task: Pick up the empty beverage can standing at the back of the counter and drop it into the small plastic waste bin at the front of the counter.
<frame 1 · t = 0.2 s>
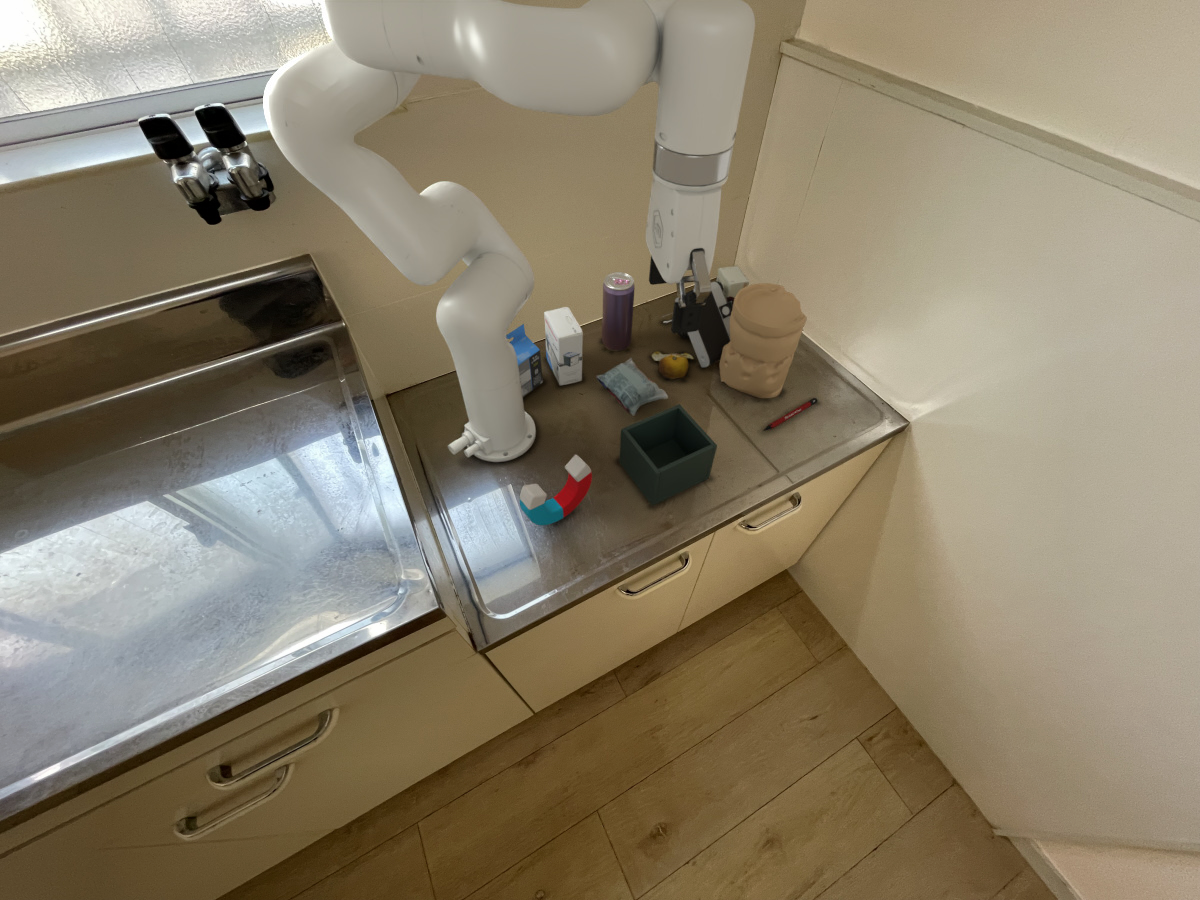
hand: (672, 305, 68), 35 cm above the countertop, tool pointing down, fingers open, 9 cm apart
beverage can: (616, 344, 117), on the countertop
toy: (769, 305, 116), point 6 cm above the countertop, touching camera, cosmetic box
cosmetic box: (723, 325, 121), on the countertop, touching toy
magnet: (558, 513, 91), on the countertop
ink box: (564, 370, 112), on the countertop
packaged food: (631, 394, 108), on the countertop
fruit: (674, 366, 113), on the countertop
camera: (684, 334, 112), point 4 cm above the countertop, touching toy
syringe: (676, 314, 123), on the countertop
waste bin: (663, 470, 96), on the countertop
container: (748, 382, 110), on the countertop
tape cartridge: (520, 391, 108), on the countertop
pencil: (788, 418, 104), on the countertop
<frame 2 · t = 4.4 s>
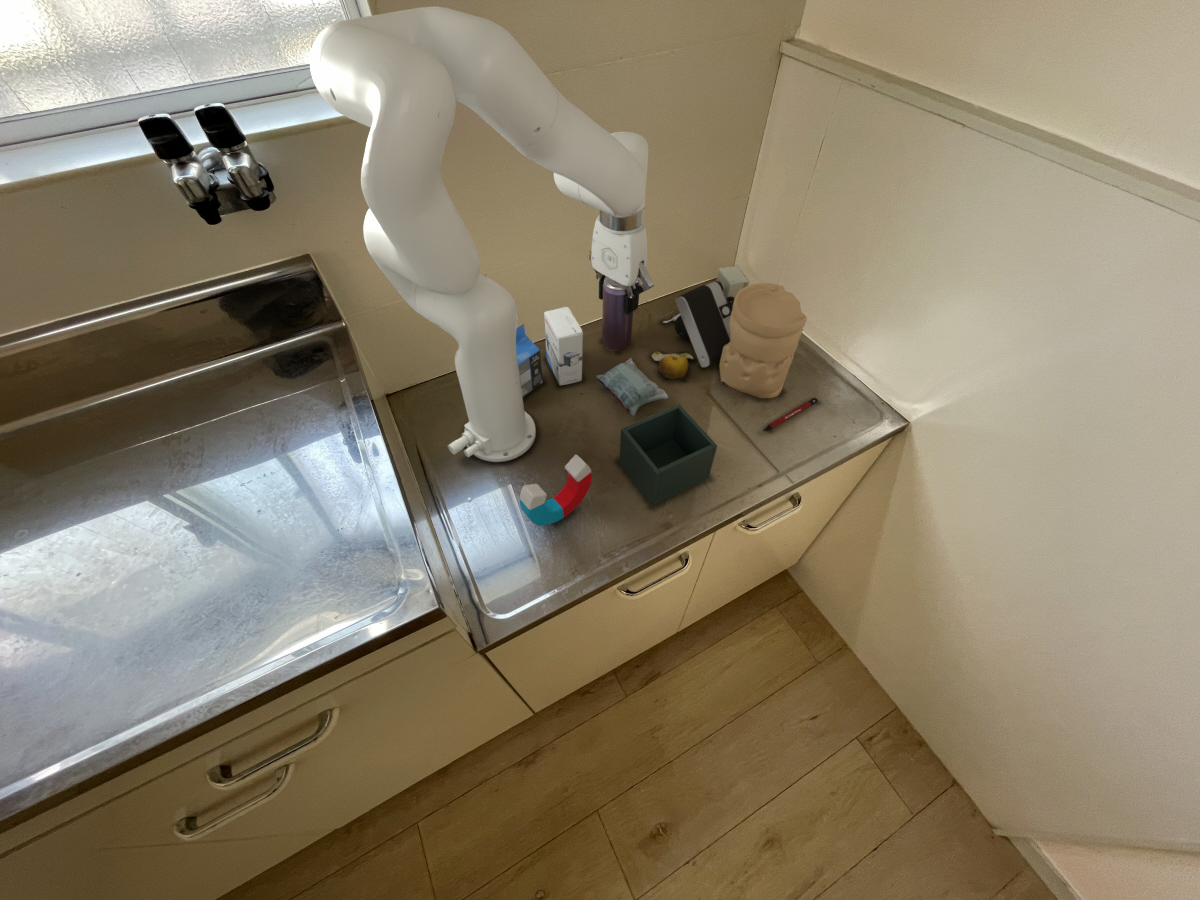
hand: (618, 302, 110), 10 cm above the countertop, tool pointing down, fingers closed on beverage can, 6 cm apart
beverage can: (616, 344, 117), on the countertop, touching gripper
everything else where it was.
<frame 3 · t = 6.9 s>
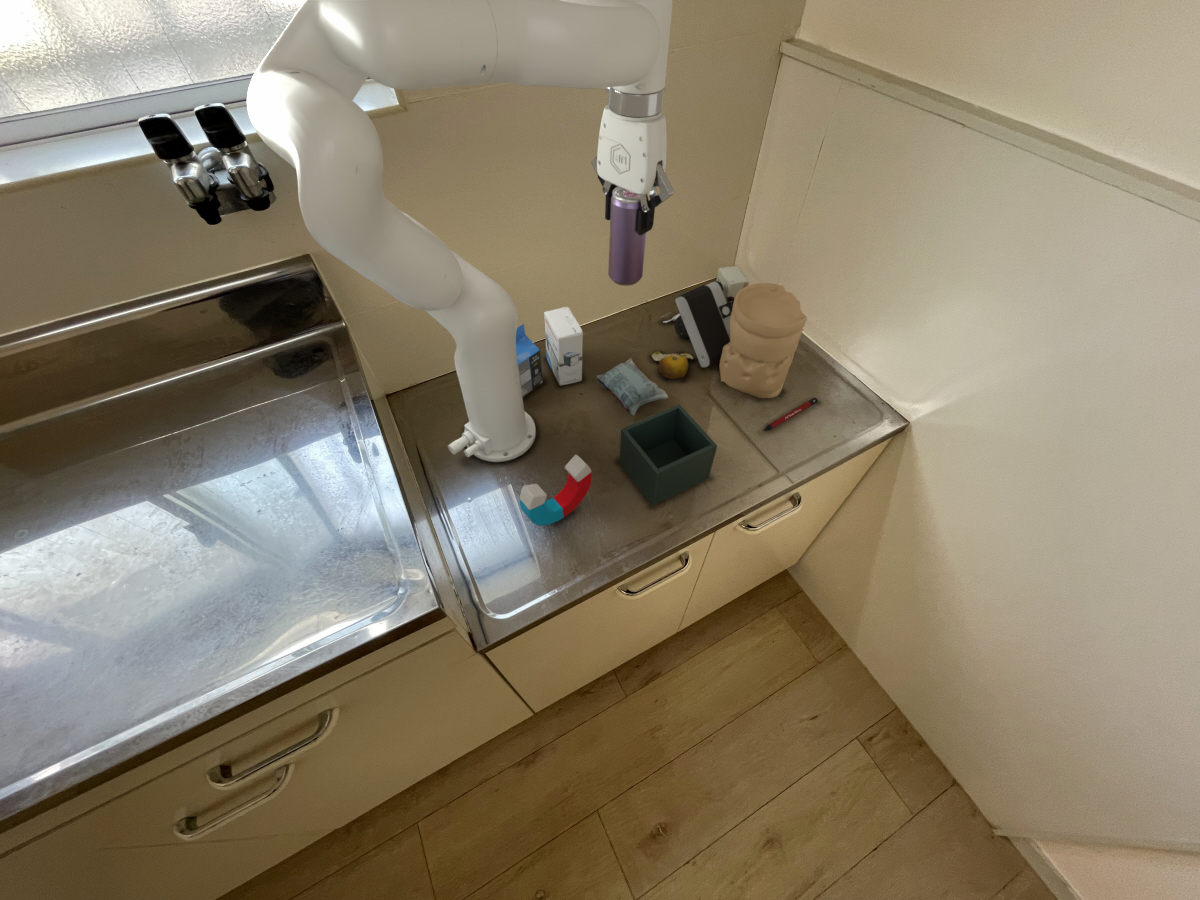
hand: (628, 223, 92), 29 cm above the countertop, tool pointing down, fingers closed on beverage can, 6 cm apart
beverage can: (625, 278, 99), point 19 cm above the countertop, touching gripper
everything else where it was.
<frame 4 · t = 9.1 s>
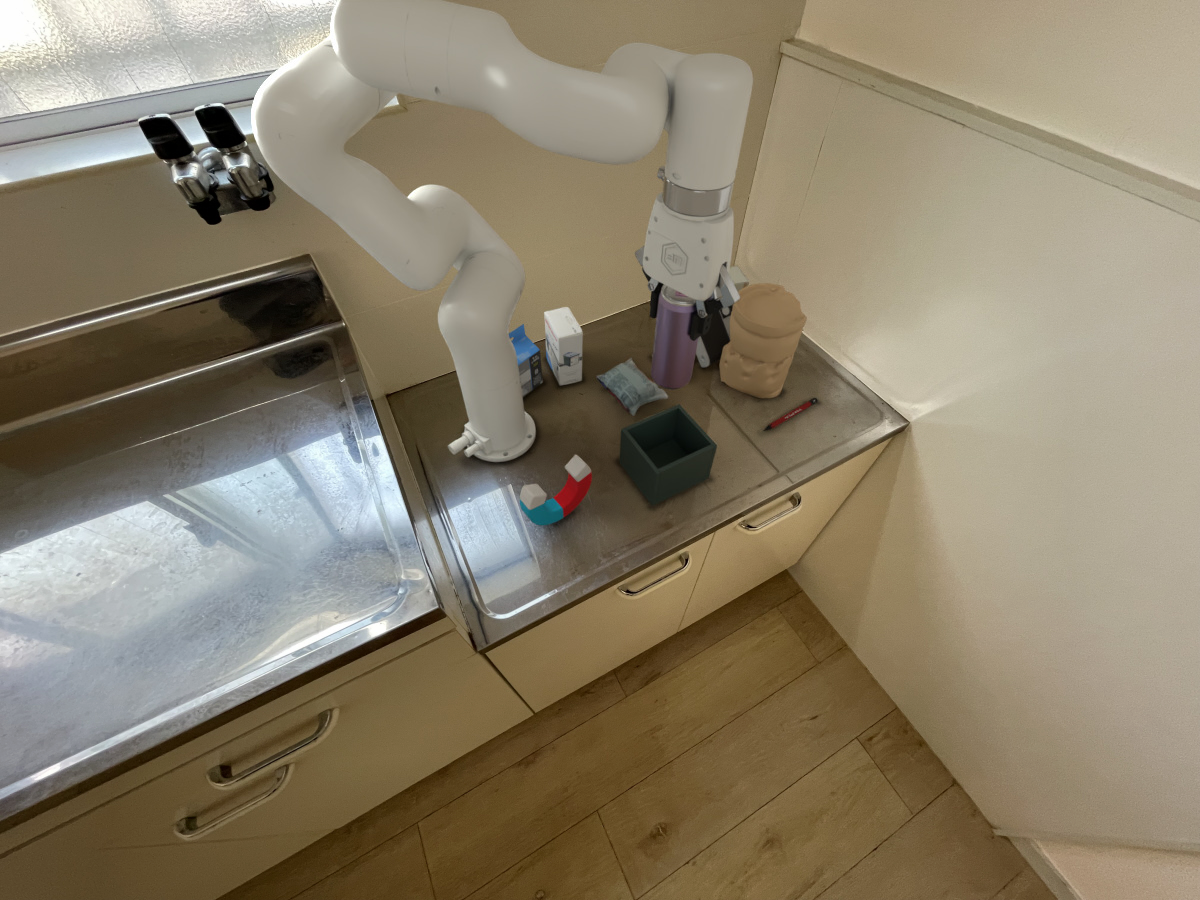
hand: (678, 323, 76), 29 cm above the countertop, tool pointing down, fingers closed on beverage can, 6 cm apart
beverage can: (670, 378, 84), point 19 cm above the countertop, touching gripper
everything else where it was.
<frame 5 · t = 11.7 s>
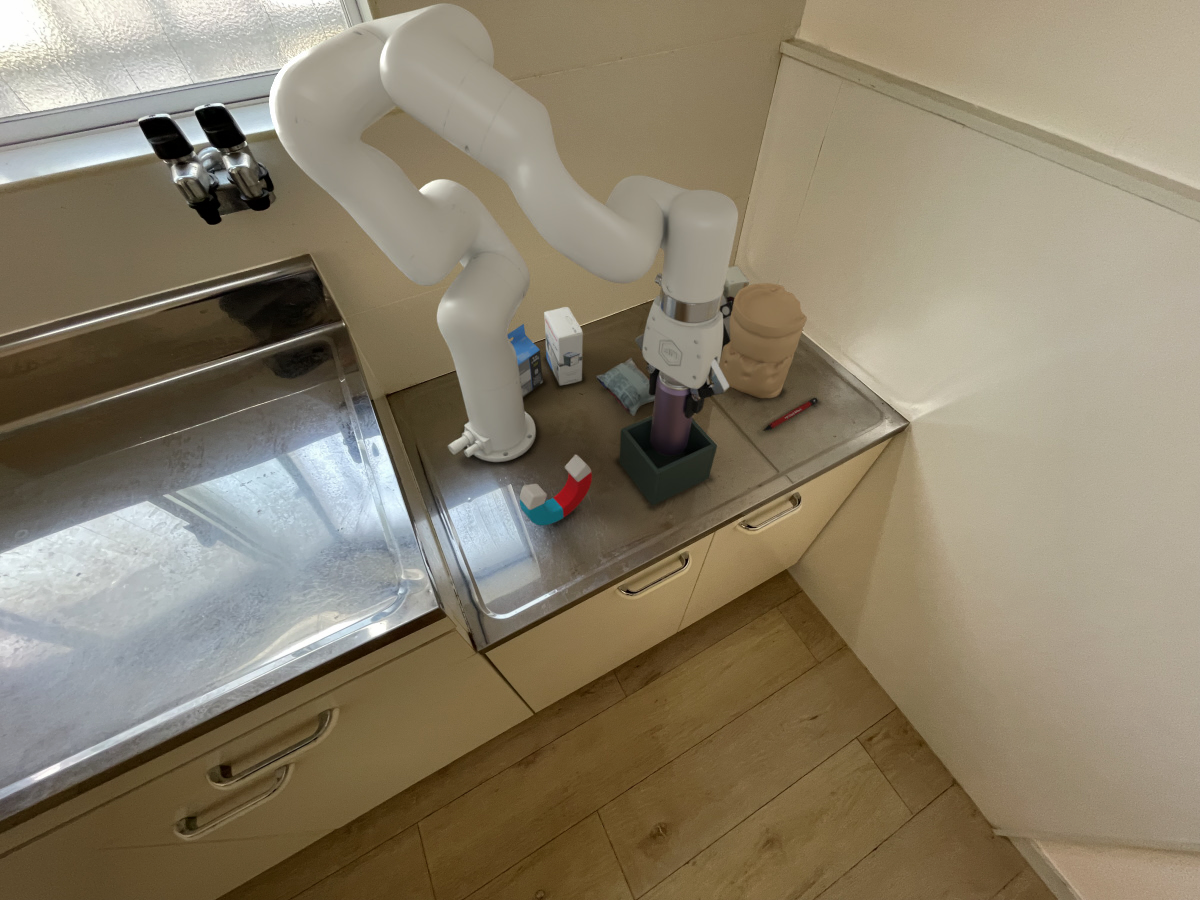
hand: (674, 400, 83), 17 cm above the countertop, tool pointing down, fingers closed on beverage can, 6 cm apart
beverage can: (668, 444, 91), point 7 cm above the countertop, touching gripper
everything else where it was.
when the fingers open (11 cm above the countertop, at t = 13.8 s): beverage can stays where it is, resting on waste bin.
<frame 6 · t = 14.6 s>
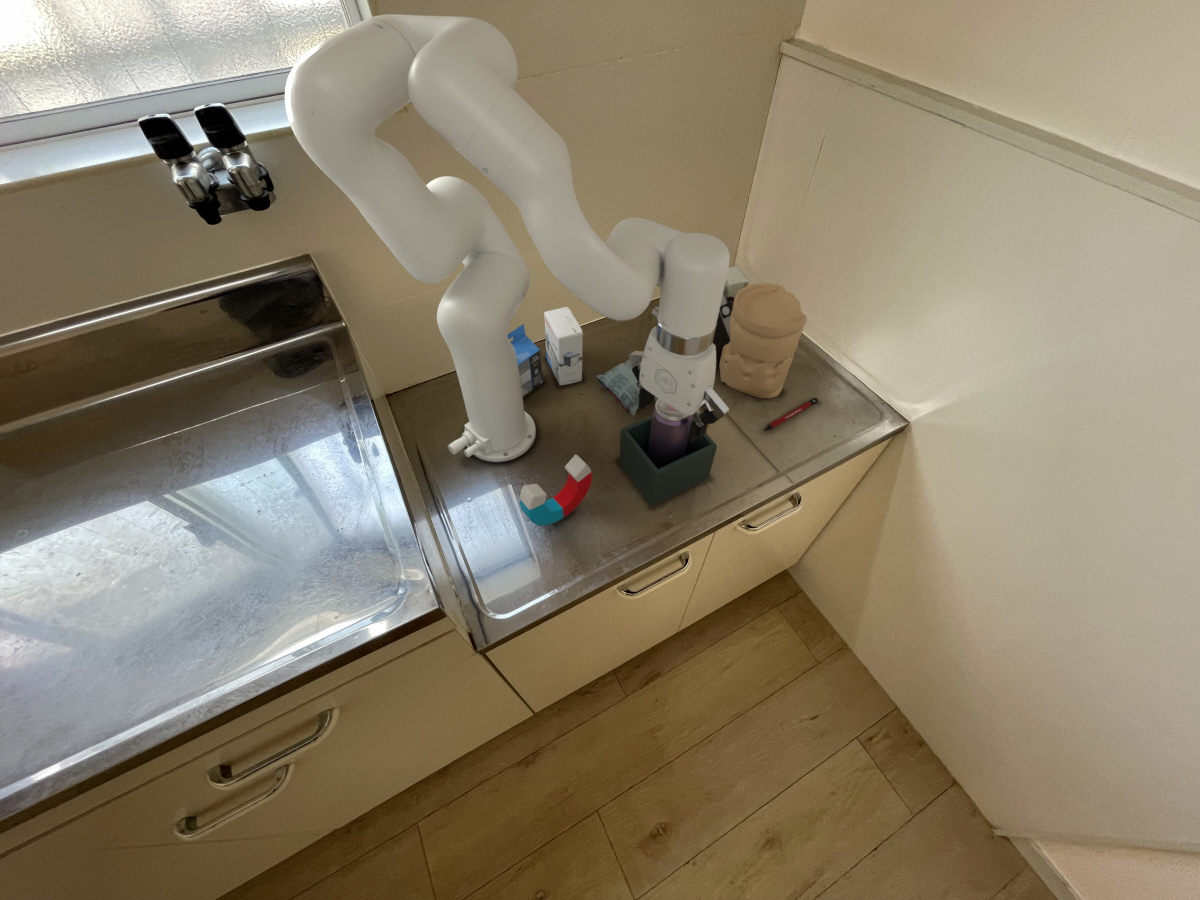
hand: (670, 420, 87), 13 cm above the countertop, tool pointing down, fingers open, 9 cm apart
beverage can: (663, 468, 96), resting on waste bin
everything else where it was.
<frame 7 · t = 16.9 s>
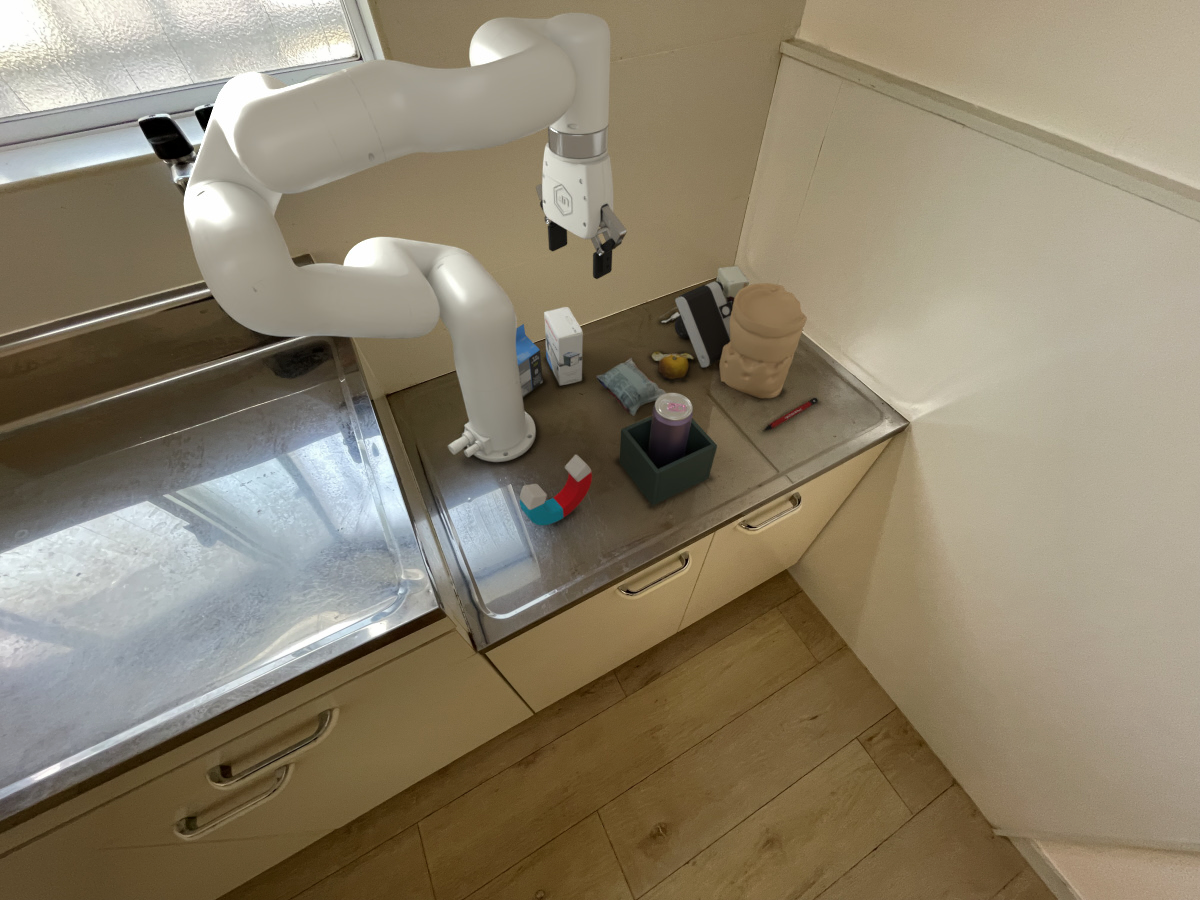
hand: (579, 260, 84), 29 cm above the countertop, tool pointing down, fingers open, 9 cm apart
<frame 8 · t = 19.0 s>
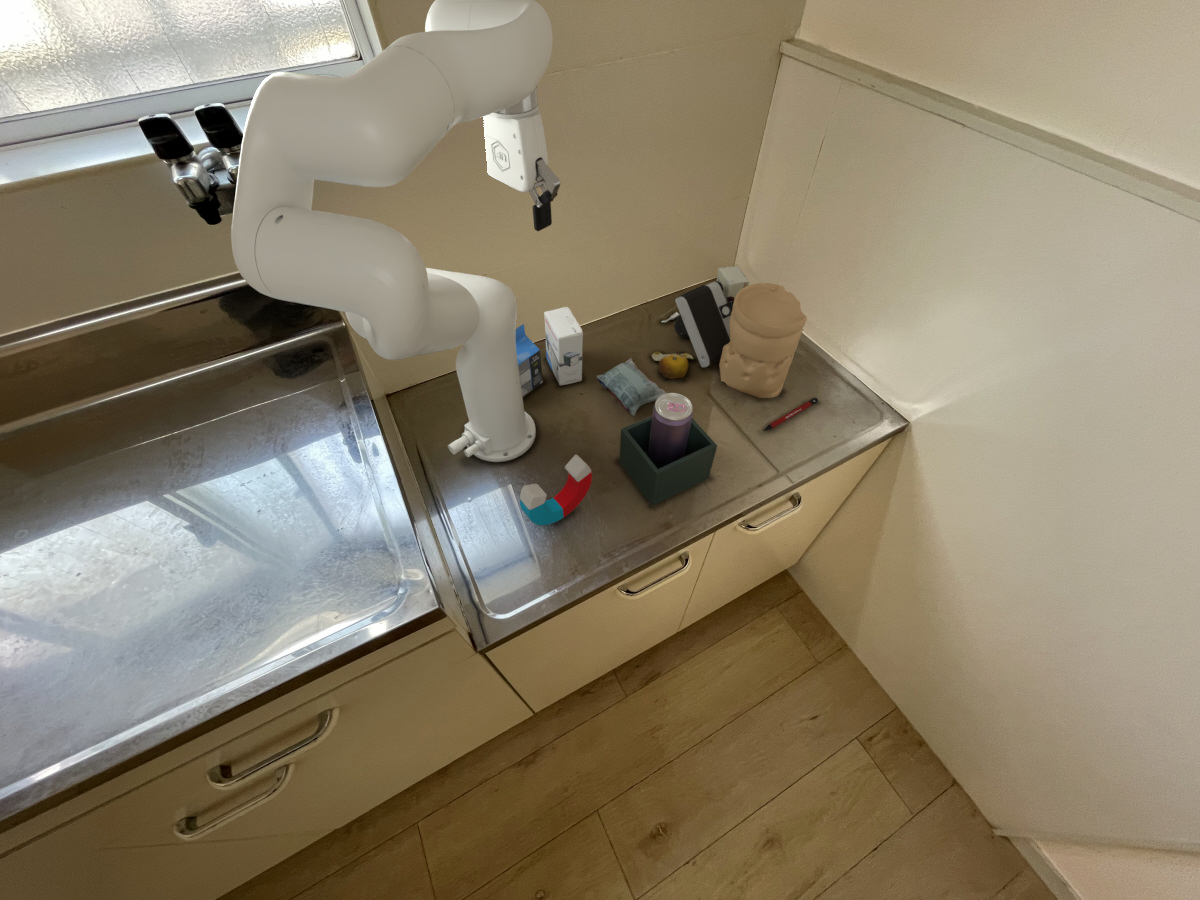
hand: (522, 216, 90), 30 cm above the countertop, tool pointing down, fingers open, 9 cm apart
at the end: beverage can inside the target area in the waste bin (0.1 cm from its centre), point 0.4 cm above the waste bin's base; the gripper is holding nothing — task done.
